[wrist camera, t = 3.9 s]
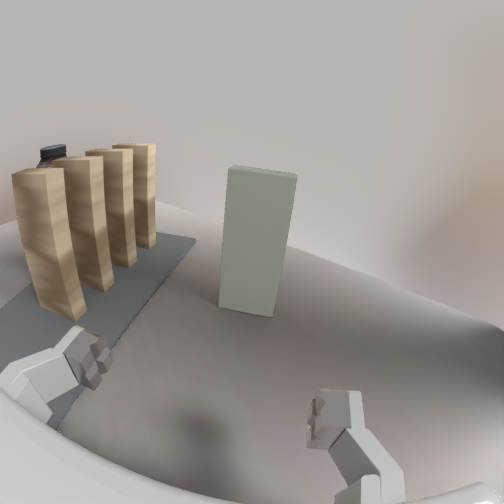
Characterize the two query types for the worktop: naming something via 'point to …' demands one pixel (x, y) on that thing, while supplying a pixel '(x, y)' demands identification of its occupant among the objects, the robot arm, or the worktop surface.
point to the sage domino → (255, 238)
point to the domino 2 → (87, 219)
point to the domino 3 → (119, 204)
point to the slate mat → (88, 311)
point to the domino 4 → (143, 192)
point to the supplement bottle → (51, 155)
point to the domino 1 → (48, 240)
